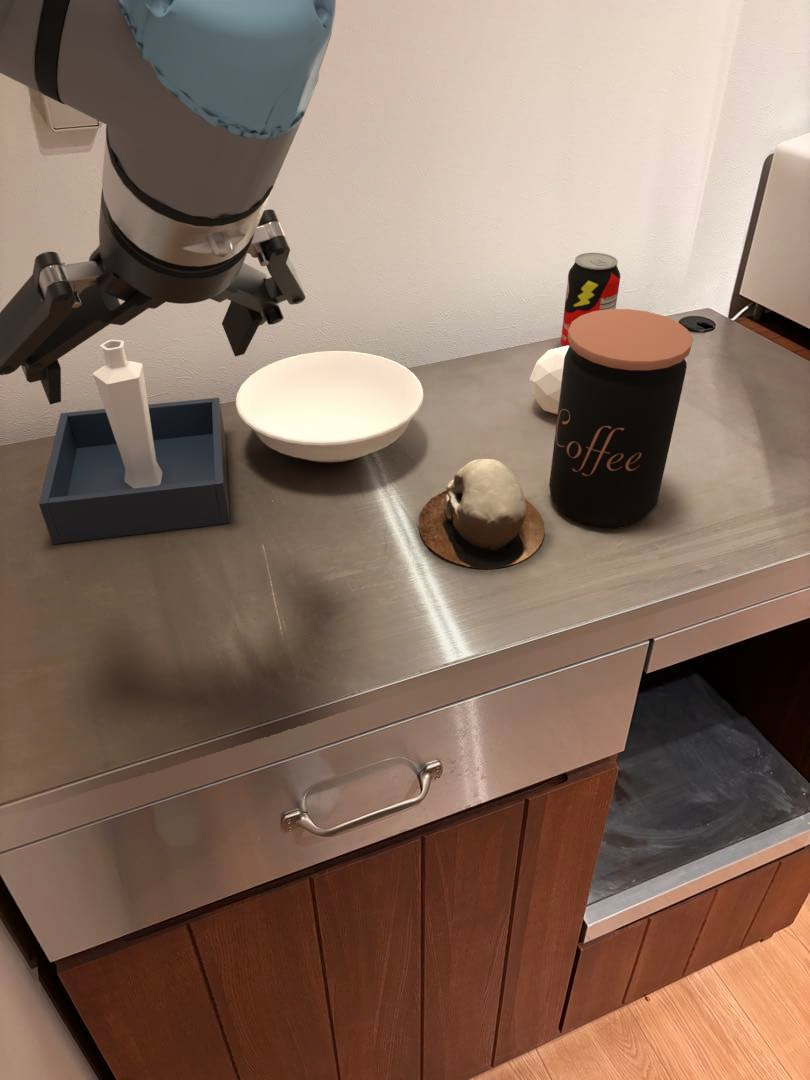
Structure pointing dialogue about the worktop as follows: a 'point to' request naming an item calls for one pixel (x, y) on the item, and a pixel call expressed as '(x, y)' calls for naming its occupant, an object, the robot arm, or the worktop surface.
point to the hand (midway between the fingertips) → (144, 361)
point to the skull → (482, 518)
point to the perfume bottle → (128, 414)
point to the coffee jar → (616, 415)
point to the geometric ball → (549, 379)
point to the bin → (99, 475)
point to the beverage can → (590, 288)
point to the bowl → (330, 404)
